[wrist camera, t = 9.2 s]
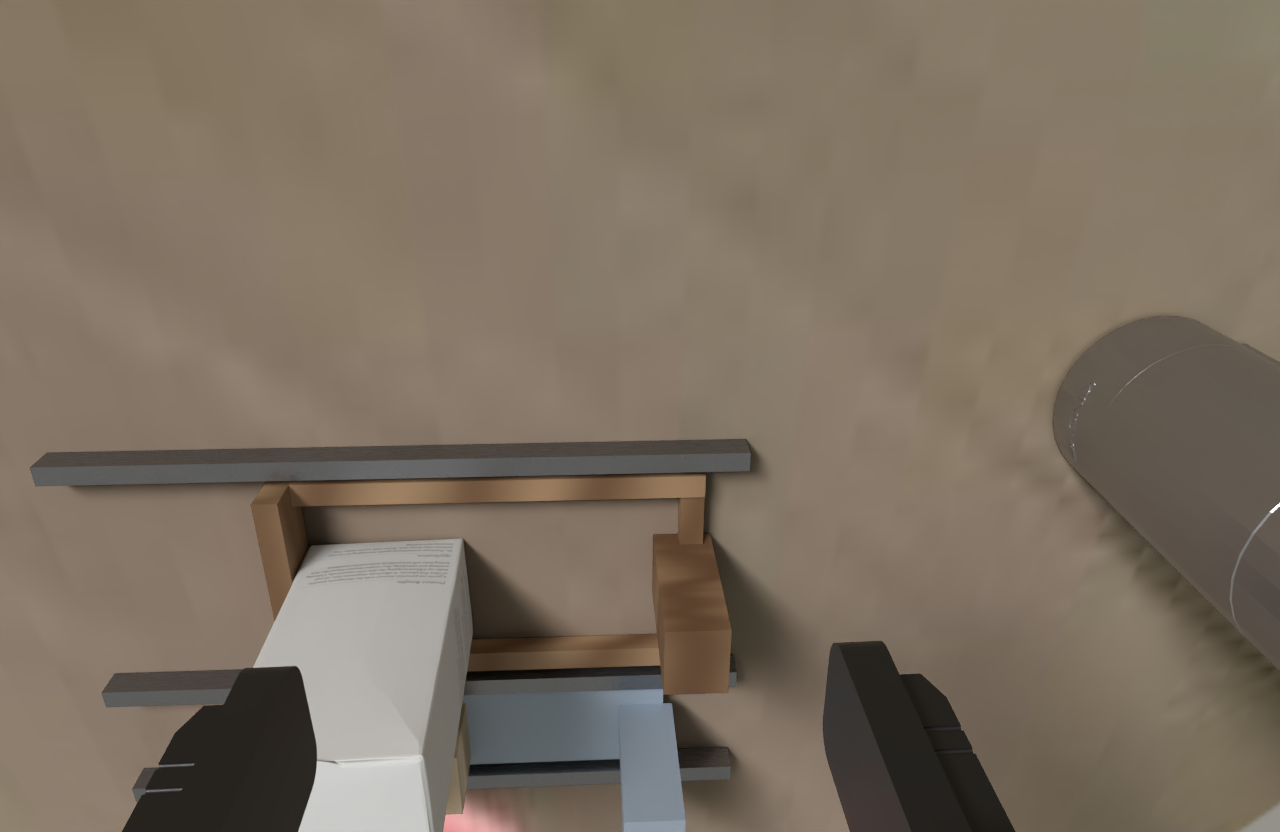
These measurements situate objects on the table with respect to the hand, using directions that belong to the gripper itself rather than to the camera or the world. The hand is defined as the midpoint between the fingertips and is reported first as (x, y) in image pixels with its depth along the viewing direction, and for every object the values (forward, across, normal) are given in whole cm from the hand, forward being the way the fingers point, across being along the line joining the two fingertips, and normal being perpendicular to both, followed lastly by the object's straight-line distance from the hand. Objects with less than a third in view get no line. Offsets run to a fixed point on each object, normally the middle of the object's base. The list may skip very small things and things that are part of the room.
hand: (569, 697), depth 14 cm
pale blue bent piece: (+30, +5, +28) cm, 41 cm away
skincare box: (+30, +10, +19) cm, 37 cm away
